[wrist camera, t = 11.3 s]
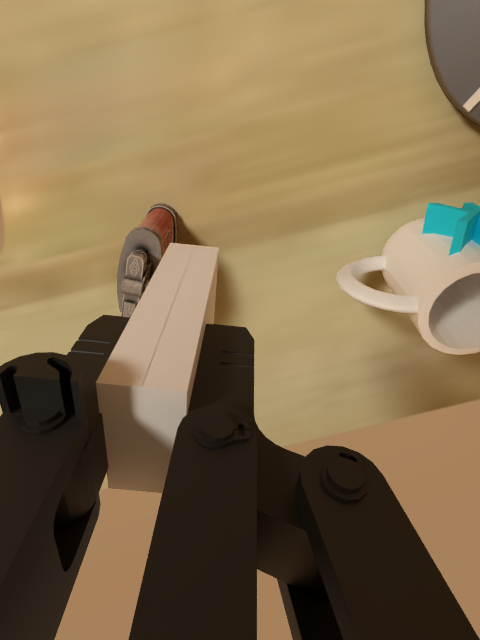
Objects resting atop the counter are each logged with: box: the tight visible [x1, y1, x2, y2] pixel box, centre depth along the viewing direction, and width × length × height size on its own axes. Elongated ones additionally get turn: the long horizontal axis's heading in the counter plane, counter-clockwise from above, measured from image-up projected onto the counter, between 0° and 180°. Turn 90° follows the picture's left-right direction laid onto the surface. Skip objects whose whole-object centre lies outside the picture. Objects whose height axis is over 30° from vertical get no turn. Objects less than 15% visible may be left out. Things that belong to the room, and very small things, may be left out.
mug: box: [336, 203, 480, 355], centre depth 31 cm, size 12×9×12 cm
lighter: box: [117, 203, 178, 318], centre depth 33 cm, size 8×3×10 cm, turn 166°
